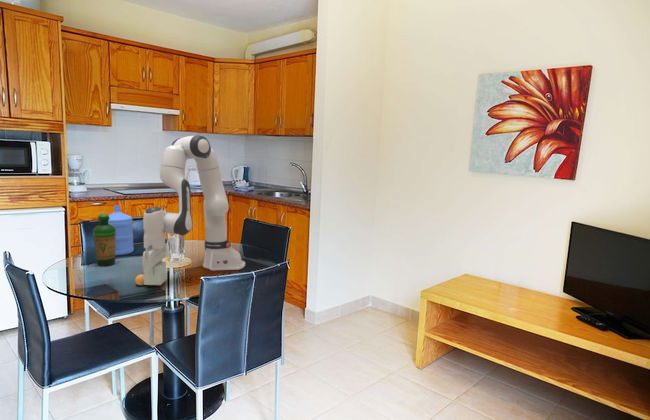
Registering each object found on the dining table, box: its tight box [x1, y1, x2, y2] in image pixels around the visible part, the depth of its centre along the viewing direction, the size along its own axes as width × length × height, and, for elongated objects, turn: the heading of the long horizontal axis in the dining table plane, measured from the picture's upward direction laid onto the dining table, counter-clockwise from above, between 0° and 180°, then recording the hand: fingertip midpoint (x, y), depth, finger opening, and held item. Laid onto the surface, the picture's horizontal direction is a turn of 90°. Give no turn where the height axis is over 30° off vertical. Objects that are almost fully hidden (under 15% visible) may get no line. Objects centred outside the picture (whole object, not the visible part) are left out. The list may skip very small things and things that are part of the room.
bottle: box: [92, 211, 116, 267], centre depth 217 cm, size 11×11×28 cm
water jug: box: [108, 204, 135, 256], centre depth 241 cm, size 16×16×28 cm
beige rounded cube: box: [143, 261, 167, 286], centre depth 189 cm, size 7×7×9 cm
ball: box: [134, 273, 144, 286], centre depth 190 cm, size 5×5×5 cm
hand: (155, 272), depth 189 cm, fingers closed on beige rounded cube, 7 cm apart
